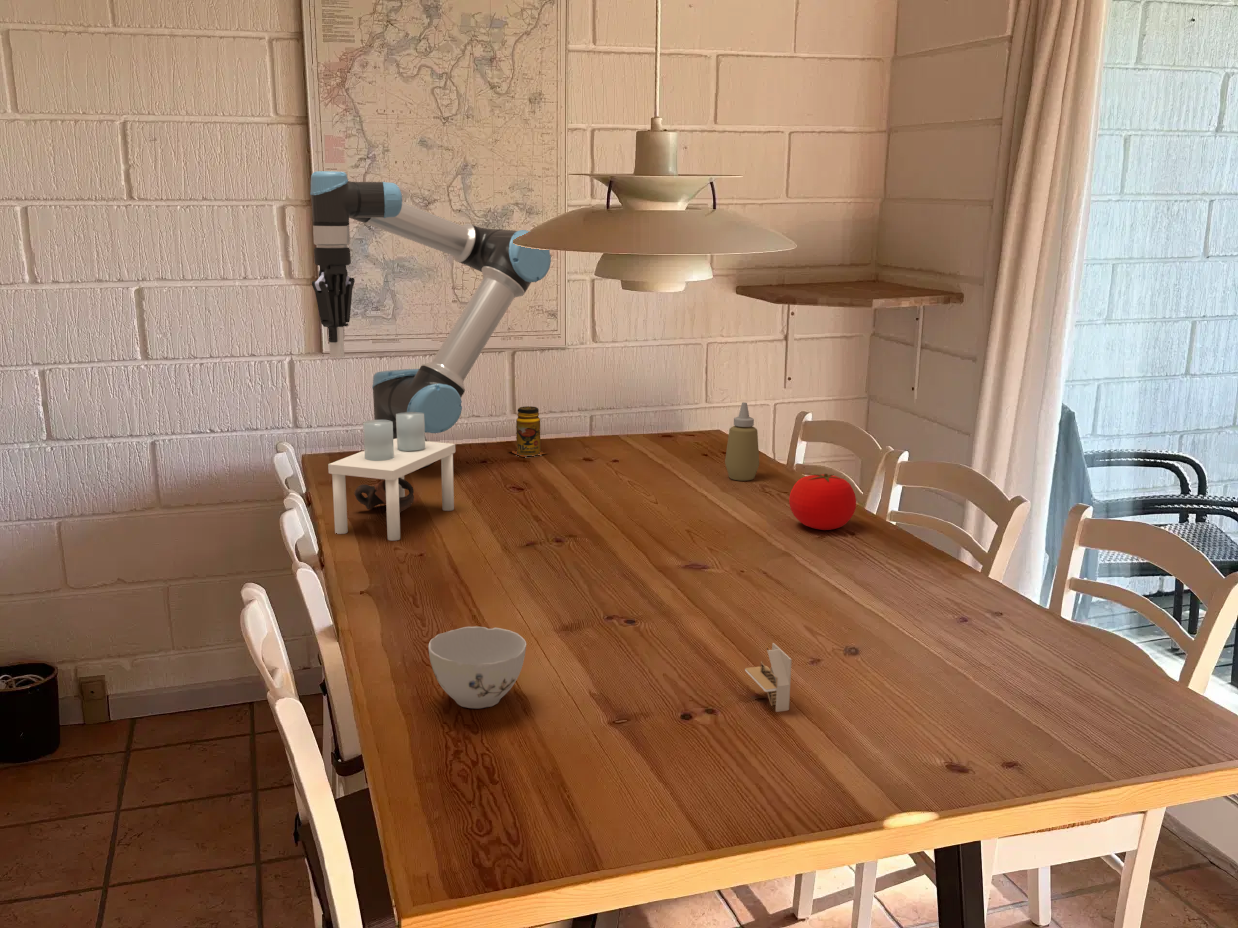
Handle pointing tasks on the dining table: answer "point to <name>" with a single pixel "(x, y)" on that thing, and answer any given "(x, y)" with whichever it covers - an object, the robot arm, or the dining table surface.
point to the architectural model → (774, 678)
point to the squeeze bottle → (742, 447)
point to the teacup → (477, 664)
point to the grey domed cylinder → (410, 431)
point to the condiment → (528, 431)
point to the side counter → (391, 480)
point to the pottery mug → (383, 494)
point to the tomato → (822, 501)
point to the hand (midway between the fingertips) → (337, 356)
